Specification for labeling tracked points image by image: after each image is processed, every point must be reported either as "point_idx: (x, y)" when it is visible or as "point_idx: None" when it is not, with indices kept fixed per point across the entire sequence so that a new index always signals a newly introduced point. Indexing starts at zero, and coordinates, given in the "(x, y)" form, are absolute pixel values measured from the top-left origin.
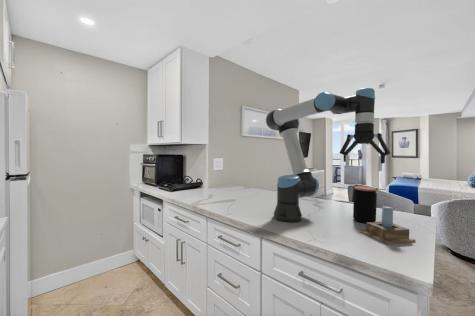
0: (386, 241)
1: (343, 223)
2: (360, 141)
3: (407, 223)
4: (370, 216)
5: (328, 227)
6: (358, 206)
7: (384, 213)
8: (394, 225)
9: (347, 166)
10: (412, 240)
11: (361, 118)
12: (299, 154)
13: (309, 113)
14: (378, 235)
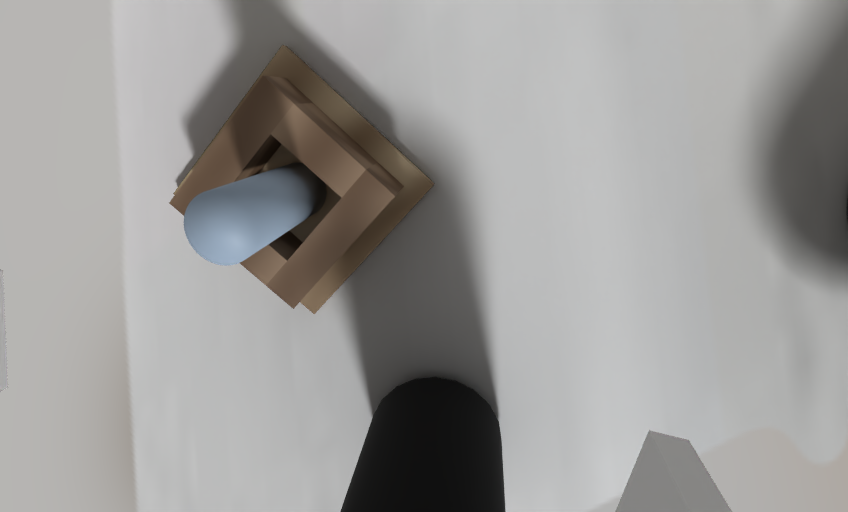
0: (290, 59)
1: (547, 302)
2: None
3: (232, 501)
4: (391, 406)
5: (631, 150)
6: (463, 444)
7: (257, 189)
8: None
9: (659, 502)
10: (185, 177)
11: None
12: None
13: None
14: (332, 123)
